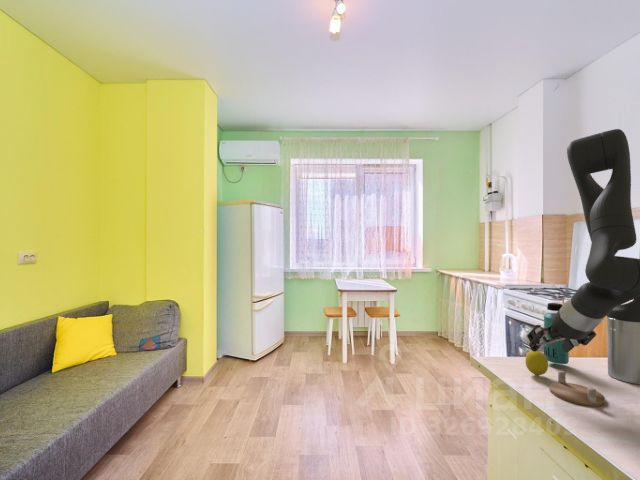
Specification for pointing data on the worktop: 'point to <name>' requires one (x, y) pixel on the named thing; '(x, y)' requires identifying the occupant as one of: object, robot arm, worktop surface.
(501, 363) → the worktop surface
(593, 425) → the worktop surface
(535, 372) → the lemon
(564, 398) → the pin dish
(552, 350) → the beverage bottle
